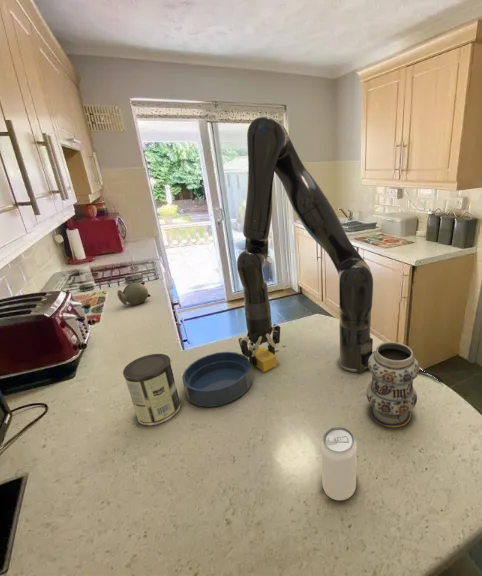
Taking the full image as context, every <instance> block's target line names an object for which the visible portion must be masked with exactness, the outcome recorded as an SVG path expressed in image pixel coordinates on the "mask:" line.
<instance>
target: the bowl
mask: <svg viewBox="0 0 482 576" xmlns="http://www.w3.org/2000/svg"><path fill="white" fill-rule="evenodd" d="M181 378H182V385H183V389H184V393H185V397H186V399H187V400H188V401H189V402H190V403H191V404H193V405H195V406H198V407H205V408H206V407H207V408H209V407H210V408H211V407H218V406H223V405H225V404H229V403H232V402H233V401H235V400H237V399H239V398H240V397H242V396H243V395H244V394H245V393H246V392H248V390H249V388H250V387H251V385H252V383H253V372H252V365H251V364H250V362H249V357H246V356H245V355H243V354H242V353H239V352H236V351H235V352H234V351H220V352H214V353H210V354H207V355H205V356H202V357H200V358H198V359H196V360H194V361H193V362H192V363H190V364H189V365H188V366H187V368H185V369H184V372H183V374H182V376H181Z"/></svg>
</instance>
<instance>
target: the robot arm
mask: <svg viewBox="0 0 482 576" xmlns="http://www.w3.org/2000/svg"><path fill="white" fill-rule="evenodd" d="M246 138H247V139H246V141H247V142H246V143H247V145H246V146H247V168H248V169H247V190H246V201H245V209H244V218H243V228H242V234H243V237H244V238H245V239H244V240H245V242H244V249H243V251H242V252H241V253H239V254H238V256H237V259H236V269H237V274H238V277H239V280H240V283H241V285H242V290H243V291H242V292H243V300H244V317H245V323H246V324H245V325H246V329H247V334H246V336H244V337H243V338H242V337H239V338H238V343H239V347H240V351H241V354H242V355H244V356H245V357H247V358H248V360H249V362H250V365H251V366H253V367H256V366H257V362H256V356H255V354H256V351H257V350H258V348H260V346H261V345H262V344H265V343H267V344H268V345H267V350H268V351H270V352H271V353H273V354H274V355H276V345H279V344H280V342H281V326H279V325H278V324H276V323H273V322H272V312H271V311H272V310H271V303H270V299H269V287H268V283H267V281H266V280H265V279H264V272H263V269H264V267H265V265H266V264H267V263H268V262H267V261H268V256H269V235H270V230H271V224H272V217H273V186H274V176H275V175H276V176H277V177H278V179H279V181H280V182H281V184H282V186H283V188H284V191H285V194H286V196H287V198H288V201H289V203H290V206H291V208H292V211H294V213H295V215H296V217H297V219H298V220H299V222H300V223H301V225H302V227H304V229H305V231H306V232H307V233H308V234H309V235H310V236H311V238H312V239H313V240H314V241H315V242H316V243H317V244H318V245H319V246H320V247H321V248H322V249H323V250H324V251H325V252H326V254H327V255H328V257H329V258H330V260H331V262H332V264H333V266H334V268H335V270H336V272H337V274H338V292H339V293H338V295H339V296H338V298H339V299H338V300H339V301H338V302H339V303H338V304H339V305H338V309H339V310H338V311H339V312H338V313H339V314H338V315H339V366H340V367H341V368H342V369H343V370H344V371H347V372H351V373H357V374H361V373H363V372H364V371H367V369H369V368H368V360H369V358H370V356H371V355H372V354H373V353H374V352H375V351H376V350H374V351H373V348H374V339H373V338H372V337H371V322H372V321H371V318H372V308H373V300H374V299H373V296H374V276H373V273H372V270H371V267H370V265H369V264H368V263H367V262H366V261H365V260H364V258H363V257H362V256H361V255H360V253H359V252H358V251H357V249H356V248H355V246H354V245H353V244H352V242H351V240H350V239H349V238H348V237H349V236H348V235H347V232H346V231H345V228H344V226H343V224H342V223H341V219H340V218H339V216H338V214H337V213H336V210H335V209H334V207H333V206H332V204H331V203H330V201H329V199H328V197H327V196H326V194H325V193H324V191H323V190H322V188H321V187H320V185H319V184H318V182H317V181H316V180H315V178H314V177H313V176H312V174H311V173H310V172H309V171H308V169H307V168H306V167H305V165H304V164H303V162H302V160H301V158H300V156H299V154H298V152H297V151H296V148H295V146H294V143H293V142H292V140H291V138H290V135H289V133H288V131H287V129H286V127H285V126H284V125H283V124H282V123H281V122H280V121H278V120H277V119H276V118H274V117H272V116H269V115H260V116H257V117H256V118H254V119H253V120H252V121H251V122H250V124H249V126H248V128H247V132H246ZM271 336H272V337H271ZM421 369H422V368H420V369H419V374H420V373H423V374H427V373H428V374H427V375H430V376H431V377H434V378H435V379H436V380H437V381H439V382H440V383H445V381H444V380H443V378H442V377H441V376H440V375H439V374H437V373H435V372H434V371H433V370H432V371H431V370H429V369H422V370H423V371H422V370H421ZM424 371H425V372H424Z"/></svg>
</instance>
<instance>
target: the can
mask: <svg viewBox="0 0 482 576" xmlns="http://www.w3.org/2000/svg"><path fill="white" fill-rule="evenodd" d="M320 454H321V455H320V457H321V482H322V483H321V484H322V488H323V492H324V493H325V494H326V496H327V497H329V498H330V499H332V500H335V501H345V500H348V499H349V498H351V497H352V496H353V495H354V493H355V492H356V489H357V488H356V487H357V442H356V440H355V436H354V433H353V432H352V431H351V430H350V429H348V428H347V427H344V426H332V427H330V428H328V429H327V430H326V431H325V432H324V434H323V436H322V440H321V444H320Z"/></svg>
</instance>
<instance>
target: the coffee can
mask: <svg viewBox="0 0 482 576" xmlns="http://www.w3.org/2000/svg"><path fill="white" fill-rule="evenodd" d="M122 375H123V378H124V379H125V382H126V386H127V389H128V392H129V395H130V399H131V402H132V404H133V408H134V410H135V414H136V419H137V421H138V423H139V424H141V425H143V426H156V425H160V424H163V423H165V422H167V421H169V420H170V419H172V418H173V417H175V415H177V413H178V412H179V411H180V408H181V405H182V404H181V400H180V396H179V393H178V388H177V385H176V380H175V377H174V372H173V368H172V363H171V358H170V356H169V355H167V354H164V353H152V354H151V353H150V354H147V355H143V356H140V357H138V358H136V359H134V360H132V361H130V362H129V363H128V364H127V365H126V366H124V368H123V370H122Z"/></svg>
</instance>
